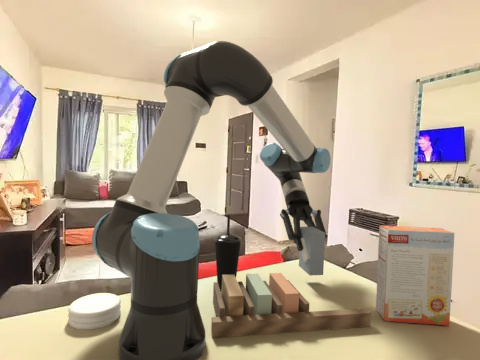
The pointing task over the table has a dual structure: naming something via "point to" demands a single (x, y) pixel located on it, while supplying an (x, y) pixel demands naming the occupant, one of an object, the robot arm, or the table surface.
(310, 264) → the slate blue block
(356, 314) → the rack
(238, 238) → the drinking cup
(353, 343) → the table surface
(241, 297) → the oak offcut
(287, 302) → the terracotta offcut
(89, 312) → the white disc stack
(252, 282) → the sage offcut
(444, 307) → the cracker box
